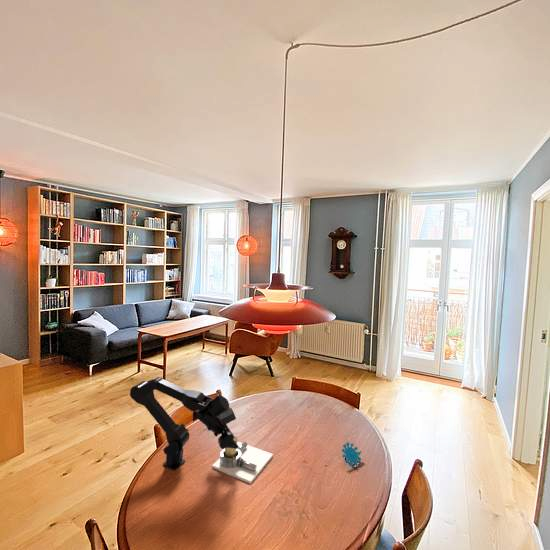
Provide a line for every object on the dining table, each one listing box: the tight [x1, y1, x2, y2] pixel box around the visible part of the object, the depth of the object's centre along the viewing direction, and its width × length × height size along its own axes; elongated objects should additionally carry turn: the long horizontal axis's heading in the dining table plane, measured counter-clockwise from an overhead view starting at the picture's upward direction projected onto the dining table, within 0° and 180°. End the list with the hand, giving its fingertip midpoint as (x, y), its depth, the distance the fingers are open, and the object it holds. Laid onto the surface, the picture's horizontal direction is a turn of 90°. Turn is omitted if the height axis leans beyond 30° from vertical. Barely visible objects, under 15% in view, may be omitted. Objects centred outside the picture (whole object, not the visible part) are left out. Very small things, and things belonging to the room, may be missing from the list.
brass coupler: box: [225, 435, 238, 458], centre depth 134 cm, size 5×5×10 cm
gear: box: [341, 442, 362, 468], centre depth 142 cm, size 11×6×10 cm
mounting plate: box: [211, 441, 274, 485], centre depth 136 cm, size 20×18×1 cm
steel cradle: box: [219, 441, 257, 472], centre depth 136 cm, size 16×16×4 cm
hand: (234, 441), depth 135 cm, fingers open, 9 cm apart
